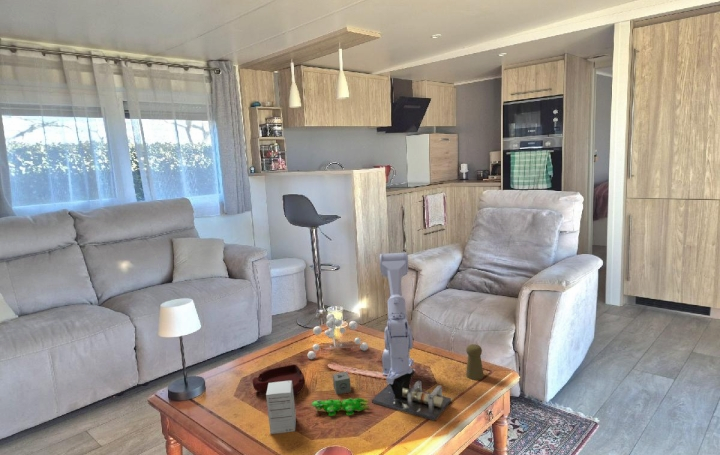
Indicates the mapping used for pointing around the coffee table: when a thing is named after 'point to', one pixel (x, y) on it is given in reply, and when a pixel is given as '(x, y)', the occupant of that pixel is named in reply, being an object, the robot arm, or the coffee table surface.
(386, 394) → the collar base
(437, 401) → the brass tube
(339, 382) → the dice cube
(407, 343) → the robot arm
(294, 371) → the ashtray
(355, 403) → the green bumpy long piece
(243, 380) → the coffee table surface
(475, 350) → the cork
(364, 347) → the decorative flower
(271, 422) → the supplement box
